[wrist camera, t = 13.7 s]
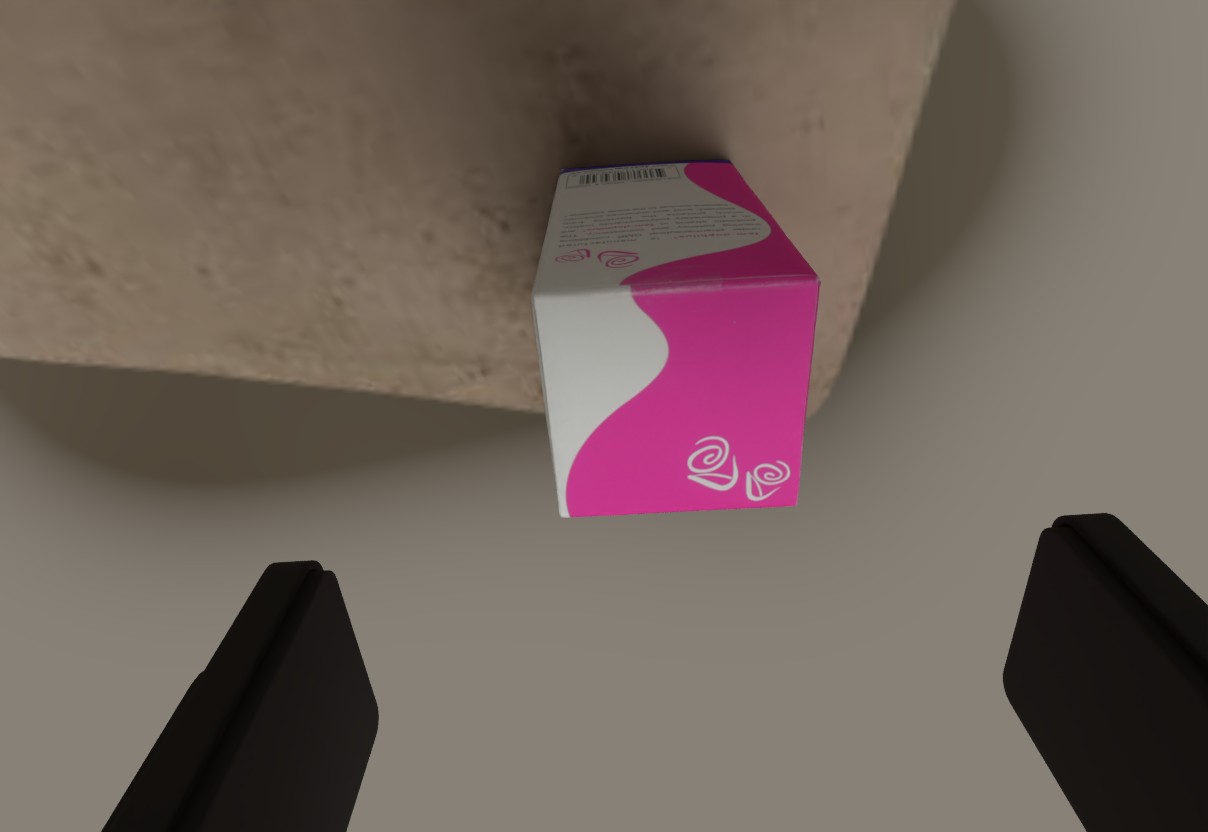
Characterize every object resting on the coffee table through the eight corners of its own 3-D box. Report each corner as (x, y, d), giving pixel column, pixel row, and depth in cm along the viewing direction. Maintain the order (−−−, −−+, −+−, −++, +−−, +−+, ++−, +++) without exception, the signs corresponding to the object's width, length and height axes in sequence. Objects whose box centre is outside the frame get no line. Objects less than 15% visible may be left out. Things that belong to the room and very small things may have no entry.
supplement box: (572, 333, 27) (549, 525, 17) (558, 166, 24) (521, 276, 14) (731, 325, 27) (803, 515, 17) (736, 156, 24) (827, 260, 14)
